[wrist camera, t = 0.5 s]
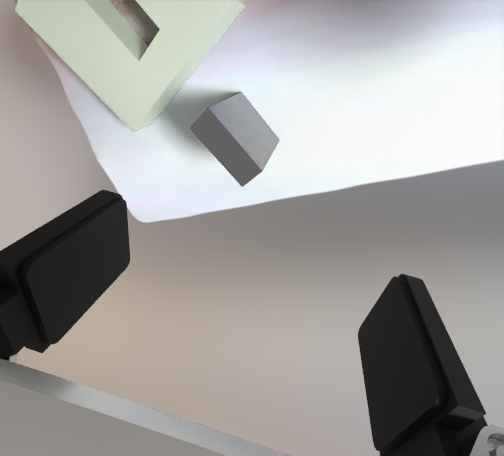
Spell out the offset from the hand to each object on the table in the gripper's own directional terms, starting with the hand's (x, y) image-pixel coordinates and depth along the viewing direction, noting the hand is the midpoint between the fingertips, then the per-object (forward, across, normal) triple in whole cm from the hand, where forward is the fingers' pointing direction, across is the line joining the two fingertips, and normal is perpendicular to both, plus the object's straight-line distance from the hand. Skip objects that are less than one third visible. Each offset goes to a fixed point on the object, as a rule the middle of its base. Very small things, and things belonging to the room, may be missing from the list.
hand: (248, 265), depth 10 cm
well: (+32, +22, -7) cm, 39 cm away
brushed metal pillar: (+32, +6, +3) cm, 32 cm away
